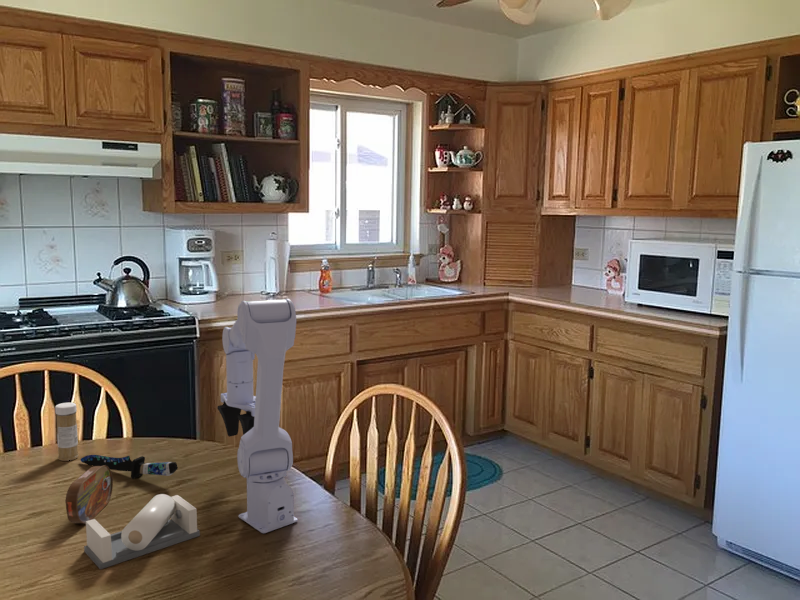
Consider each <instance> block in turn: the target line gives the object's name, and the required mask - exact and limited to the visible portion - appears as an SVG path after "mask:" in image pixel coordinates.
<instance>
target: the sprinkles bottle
mask: <svg viewBox="0 0 800 600" xmlns="http://www.w3.org/2000/svg"><path fill="white" fill-rule="evenodd" d="M54 409H55V416H56V431H57V432H56V433H57V434H56V438H57V448H58V451H57V452H58V457H57V459H58V460H59V461H65V462H67V461H68V462H69V460H70V461H73V460H76V459H77V458H79V455H80V454H79V446H78V445H79V441H78V440H79V439H78V436H79V435H78V423H77V409H78V408H77V404H76V403H75V402H72V401H71V402H62V403H58V404H56V405H55V407H54Z"/></svg>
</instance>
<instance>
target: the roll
mask: <svg viewBox="0 0 800 600" xmlns="http://www.w3.org/2000/svg"><path fill="white" fill-rule="evenodd" d="M171 497H172V496H170V495H168V494H165V493H160V494H156V495H154V496H153V498H151V499H150V501H149V502H147V504H146V505H144V507H143V508H142V509H141V510H140V511H139V512H138V513H137V514H136V515H135V516H134V517H133V518H132V519H131V520H129V522H128V523H127V524H126V526H124V528H123V529H122V530H121V531H122V534H121V538H122V542H123V543H124V545H125V546H126V547H127V548H129V549H131V550H135V551H138V550H142V549H144V548H145V547H146V546H147V545H148V544H149V543H150V542H151V540H152V539H153V538H154V537H155V536H156V535H157V533H158V532H159V531H160V530H161V529H162V527H163V526H164V525H165V524H166V523H167V522H168V520H170V519H171V517H172V516H173V514H174V513H175V510H176V505H175V502H174V500H173V499H172V498H171Z"/></svg>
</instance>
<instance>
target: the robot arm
mask: <svg viewBox="0 0 800 600" xmlns="http://www.w3.org/2000/svg"><path fill="white" fill-rule="evenodd" d="M236 318H237V319H236V320H235V322H234V323H233V325H232V326H231V327H228V326H224V327H223V330H222V337H221V338H222V348H223V351H224V354H225V363H226V365H225V367H226V368H225V369H226V392H224V393H220V402H221V403H222V404H221V405H218V406H217V407H216V408H217V411H219V414H220V415H221V417H222V420H223V422H224V427H225V430H226V434H227V436H228V437H233V436H237V435H238V433H239V428H240V427H239V425H240V426H241V428H242V436H241V437H240V440H239V446H238V449H237V451H236V452H237V455H236V456H237V457H236V460H237V468H238V471H239V474H240V476H242V477H243V478H245V479H246V507H247V508H246V511H245V512H242V513H239V514H238V518H239V519H241V520H242V521H244V522H246V523H247V524H248V525H250V526H251V527H252V528H254V529H255V530H257V531H258V532H260V533H261V534H266V533H269V532H273V531H274V530H277V529H280V528H283V527H286V526H288V525H292V524H293V523H297V522H298V518H297V517H295V508H294V507H295V500H294V499H295V496H294V495H295V494H294V490H293V488H292V486H290V485H289V484H288V483H287V481H286V478H285V477H287V475H288V474H287V473H288V471H290V470H291V468H292V467H293V463H294V455H293V442H292V439H291V435H289V433H288V432H287V431H286V430H285V429H284V428H282V427H281V426H280V419H281V418H280V417H281V407H282V406H281V405H282V393H283V381H284V378H283V377H284V367H285V361H286V353H287V351H288V350H289V349H291V348H292V347H294V345H295V339H296V332H297V331H296V330H297V313H296V307H295V304H294V302H293V301H292V300H291V298H284V299H268V300H251V301H250V300H249V301H246V300H241V301H240V303H239V304H238V306H237V317H236ZM255 356H256V357H257V358H256V359H257V370H256V371H257V373H256V384H255V385H256V388H255V395H254V360H255ZM242 411H245V413H242V414H241V412H242Z"/></svg>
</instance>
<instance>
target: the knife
mask: <svg viewBox="0 0 800 600" xmlns="http://www.w3.org/2000/svg"><path fill="white" fill-rule="evenodd" d="M145 461H146V457H145V456H143V455H141V456H140V457H136V458H134V459H131V456H130V455H127V456H123V457H112V456H105V455H101V454H100V455H99V454H88V455H85V456H82V457H81V459H80V462H82V463H83V464H85V465H87V464H89V465H88V466H91V465H93V466H92V467H94V466H103V465H106V466H108V467H109V469H110V470H111V471H119V472H130V479H132V480H134V479H136V478H139V477H141V476H143V474H144V475H152V476H153V475H155V476H168V477H169V476H171V475H173V474H174V473H176V471H177V470H178V468H179V466H178V464H177V462H176V461H167V462H166V461H165V462H145Z"/></svg>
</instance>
